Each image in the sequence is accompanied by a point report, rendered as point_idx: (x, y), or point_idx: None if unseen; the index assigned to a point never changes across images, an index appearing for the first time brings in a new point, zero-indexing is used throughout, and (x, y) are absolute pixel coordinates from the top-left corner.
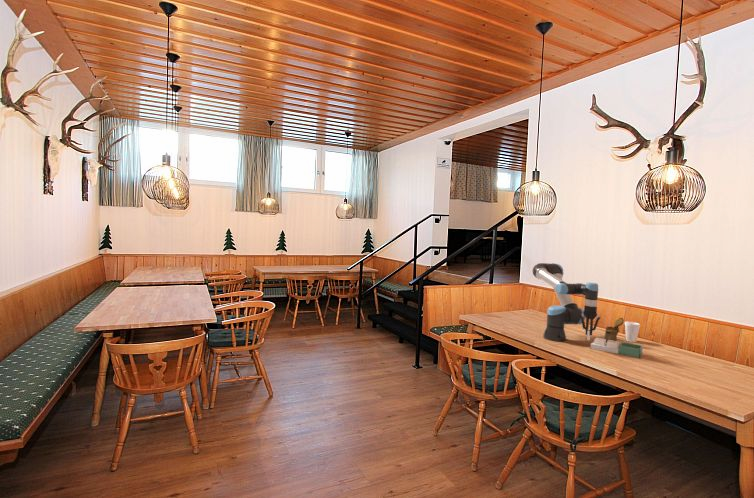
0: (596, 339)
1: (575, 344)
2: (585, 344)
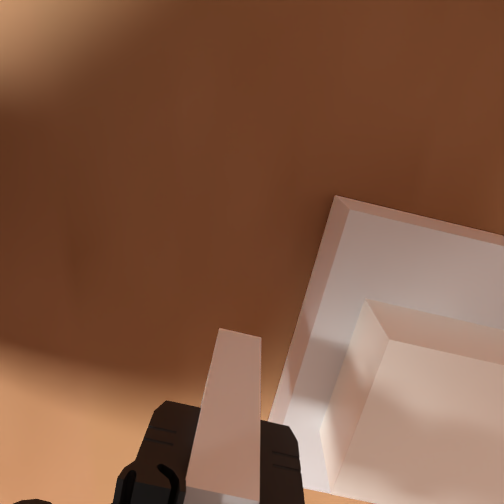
0: (365, 497)
1: (72, 336)
2: (205, 250)
